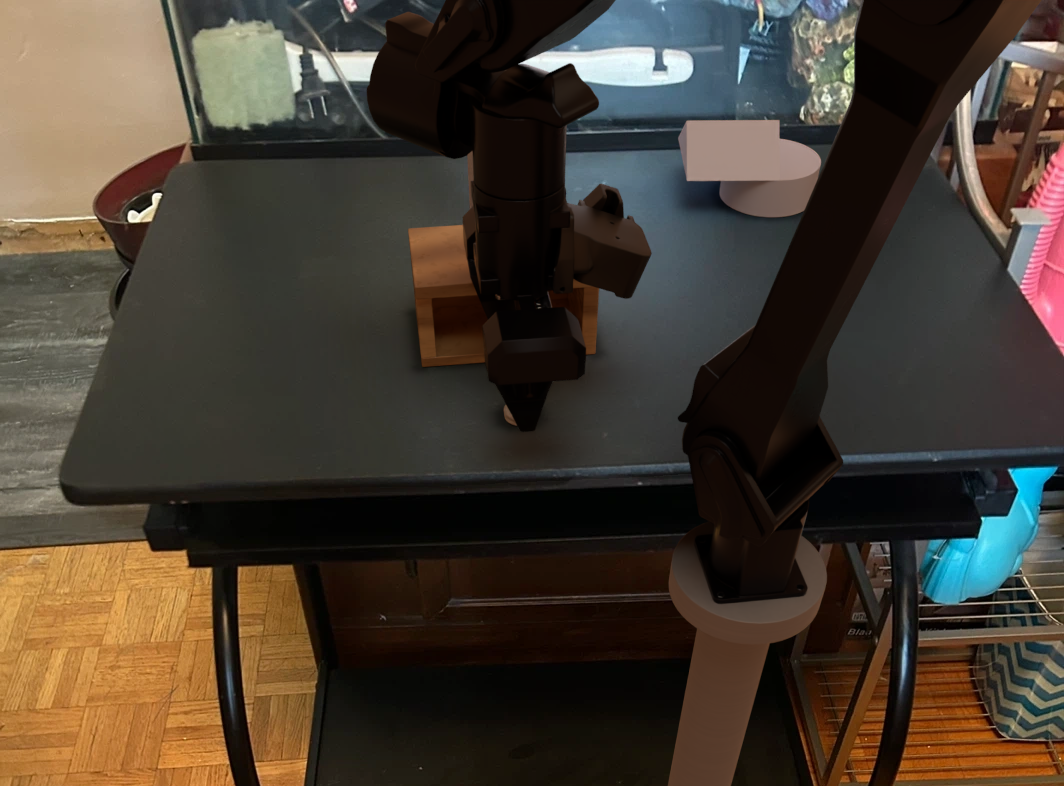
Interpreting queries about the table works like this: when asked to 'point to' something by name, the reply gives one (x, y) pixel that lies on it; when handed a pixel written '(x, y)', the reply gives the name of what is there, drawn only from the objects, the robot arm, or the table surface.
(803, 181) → the wedge on round base
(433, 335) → the shelf
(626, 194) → the table surface
